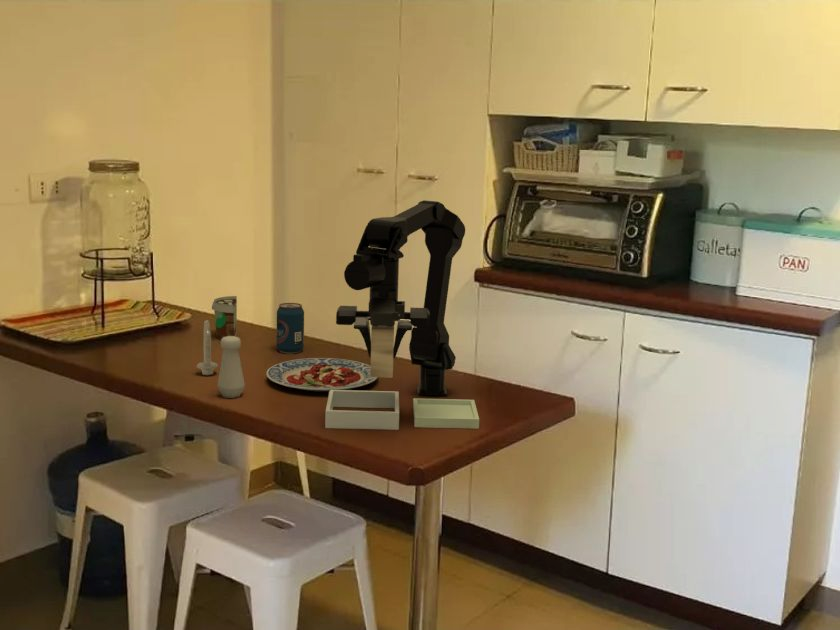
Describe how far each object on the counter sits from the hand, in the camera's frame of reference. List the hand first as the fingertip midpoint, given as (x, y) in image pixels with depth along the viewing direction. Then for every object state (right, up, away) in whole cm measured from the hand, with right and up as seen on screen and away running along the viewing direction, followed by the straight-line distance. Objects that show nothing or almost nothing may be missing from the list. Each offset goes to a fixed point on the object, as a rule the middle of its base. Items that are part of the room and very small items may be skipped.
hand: (382, 357), depth 205 cm
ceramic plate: (-15, -7, +27) cm, 32 cm away
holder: (-4, -12, +2) cm, 13 cm away
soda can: (-26, -1, +52) cm, 58 cm away
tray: (+13, -13, +4) cm, 19 cm away
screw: (-42, -5, +29) cm, 51 cm away
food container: (-45, +3, +64) cm, 79 cm away
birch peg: (0, -3, +1) cm, 4 cm away
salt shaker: (-33, -9, +14) cm, 37 cm away
